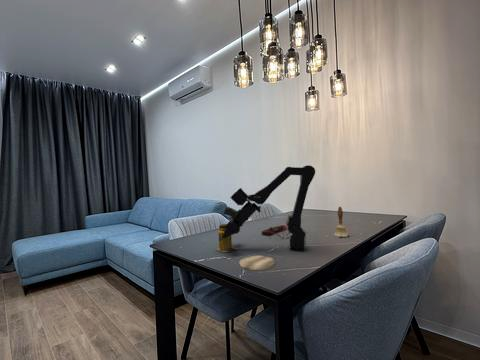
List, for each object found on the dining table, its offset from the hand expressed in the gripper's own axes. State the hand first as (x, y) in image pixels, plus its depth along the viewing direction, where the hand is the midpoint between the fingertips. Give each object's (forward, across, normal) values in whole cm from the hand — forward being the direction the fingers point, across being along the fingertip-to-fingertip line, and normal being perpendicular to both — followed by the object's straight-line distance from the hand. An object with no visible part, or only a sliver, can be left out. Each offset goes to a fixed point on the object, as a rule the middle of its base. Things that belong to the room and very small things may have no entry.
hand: (223, 236), depth 128 cm
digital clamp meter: (-17, -29, +27) cm, 43 cm away
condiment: (+4, 0, +6) cm, 7 cm away
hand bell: (-38, -21, +48) cm, 65 cm away
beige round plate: (-7, +19, +16) cm, 26 cm away
